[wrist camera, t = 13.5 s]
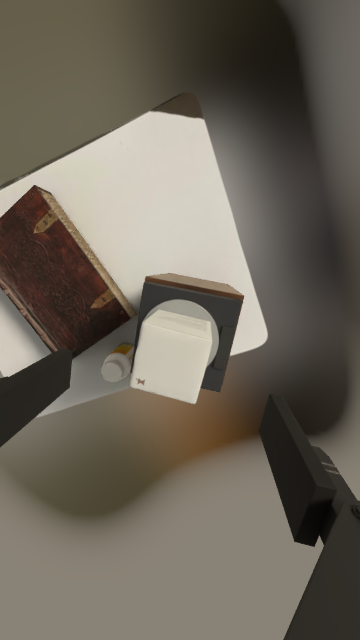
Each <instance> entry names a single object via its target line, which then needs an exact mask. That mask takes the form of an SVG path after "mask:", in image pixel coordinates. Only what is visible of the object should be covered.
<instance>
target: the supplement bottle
mask: <svg viewBox="0 0 360 640" xmlns="http://www.w3.org/2000/svg"><path fill="white" fill-rule="evenodd" d="M133 352H134V345H132V344H129V343H124V344H121V345H120V346H118V347H117V348H116V349H115V350H114V351H113V352H112V353H111V354H109V355H108V356H107V358H106V359H105V361H104V365H103V367H102V369H101V375H102V377H103V378H104V379H105V380H106V381H108V382H110V383H115V382H117V381H119V380H121V379H123V378H125V377H127V376H128V374H129V373H130V372H131V365H132V358H133Z"/></svg>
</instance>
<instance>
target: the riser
mask: <svg viewBox="0 0 360 640" xmlns="http://www.w3.org/2000/svg"><path fill="white" fill-rule="evenodd" d="M149 281H150V282H155V283H160V284H165V285H170V286H175V287H180V288H185V289H191V290H196V291H201V292H206V293H211V294H216V295H221V296H226V297H231V298H236V299H240V300H241V301H242V303H243V299H244V295H242V294H241V293H239V292H238V291H237V290H235V289H234V288H232V287H231V286H230V285H228V284H223V283H218V282H213V281H208V280H202V279H197V278H192V277H187V276H182V275H177V274H171V273H168V274H160V275H153V276H146V278H145V282H149ZM241 307H242V305H241ZM240 311H241V309H240ZM239 315H240V314H239ZM238 319H239V318H238ZM237 324H238V322H237ZM236 328H237V326H236ZM235 332H236V330H235ZM234 336H235V334H234ZM233 340H234V338H233ZM232 344H233V342H232ZM231 348H232V346H231ZM230 352H231V350H230ZM229 356H230V354H229ZM228 360H229V358H228ZM227 364H228V362H227ZM226 368H227V366H226ZM225 372H226V370H225ZM224 376H225V374H224ZM223 380H224V378H223ZM222 384H223V382H222ZM221 387H222V386H221Z"/></svg>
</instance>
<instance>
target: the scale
mask: <svg viewBox="0 0 360 640" xmlns="http://www.w3.org/2000/svg"><path fill="white" fill-rule="evenodd" d="M241 305H242V301H241V300H240V299H236V298H231V297H226V296H221V295H216V294H211V293H206V292H201V291H196V290H191V289H185V288H180V287H175V286H170V285H165V284H160V283H155V282H150V281H149V282H144V285H143V292H142V299H141V305H140V312H139V319H138V325H137V332H136V338H135V345H134V352H133V358H132V365H131V373H132V370H133V365H134V359H135V354H136V350H137V346H138V341H139V336H140V331H141V326H142V322H143V321H145V320H146V319H147V318H148V317H150V316H151V315H152V314H153V313H155V312H156V311H157V310H158V309H159V310H163V311H167V312H172V313H176V314H180V315H184V316H188V317H193V318H197V319H201V320H205V321H209V322H211V333H212V346H211V351H210V355H209V358H208V362H207V366H206V369H205V373H204V377H203V380H202V384H201V387H200V388H203V389H207V390H212V391H216V392H220V390H221V386H222V382H223V378H224V374H225V370H226V366H227V362H228V358H229V354H230V350H231V346H232V342H233V338H234V334H235V330H236V326H237V322H238V318H239V314H240V309H241Z"/></svg>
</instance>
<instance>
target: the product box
mask: <svg viewBox="0 0 360 640" xmlns="http://www.w3.org/2000/svg"><path fill="white" fill-rule="evenodd" d="M211 346H212V333H211V322H209V321H205V320H201V319H197V318H193V317H188V316H184V315H180V314H176V313H172V312H167V311H163V310H159V309H158V310H157V311H156V312H155V313H153V314H152V315H151V316H150V317H148V318H147V319H146V320H145V321H143V322H142V326H141V331H140V336H139V341H138V346H137V350H136V354H135V359H134V365H133V370H132V375H131V379H130V384H129V386H130V387H131V388H136V389H139V390H143V391H147V392H151V393H155V394H159V395H163V396H167V397H170V398H174V399H177V400H181V401H185V402H189V403H192V404H195V403H196V400H197V397H198V394H199V390H200V387H201V384H202V380H203V377H204V373H205V369H206V366H207V362H208V358H209V355H210V351H211Z"/></svg>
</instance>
